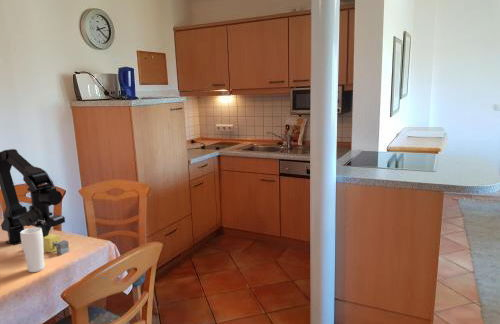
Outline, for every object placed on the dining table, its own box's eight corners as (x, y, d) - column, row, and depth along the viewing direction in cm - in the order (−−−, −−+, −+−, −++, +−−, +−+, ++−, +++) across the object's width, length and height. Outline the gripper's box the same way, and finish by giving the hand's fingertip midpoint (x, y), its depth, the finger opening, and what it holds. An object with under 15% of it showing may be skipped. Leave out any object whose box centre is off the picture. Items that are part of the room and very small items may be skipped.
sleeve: (43, 251, 147) (41, 237, 146) (52, 246, 151) (51, 233, 150) (51, 252, 145) (49, 239, 144) (60, 248, 149) (59, 235, 148)
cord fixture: (27, 249, 149) (25, 239, 149) (39, 244, 154) (38, 234, 154) (59, 255, 143) (58, 245, 142) (71, 250, 148) (69, 240, 147)
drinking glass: (37, 274, 128) (31, 234, 125) (21, 273, 129) (15, 233, 127) (51, 265, 135) (46, 227, 132) (35, 264, 136) (30, 226, 133)
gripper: (4, 205, 142) (10, 243, 144) (38, 210, 135) (43, 249, 138) (30, 198, 152) (35, 233, 155) (63, 201, 145) (68, 238, 148)
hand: (45, 238), depth 148 cm, fingers closed
